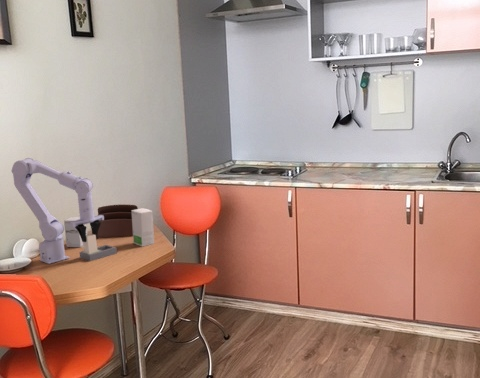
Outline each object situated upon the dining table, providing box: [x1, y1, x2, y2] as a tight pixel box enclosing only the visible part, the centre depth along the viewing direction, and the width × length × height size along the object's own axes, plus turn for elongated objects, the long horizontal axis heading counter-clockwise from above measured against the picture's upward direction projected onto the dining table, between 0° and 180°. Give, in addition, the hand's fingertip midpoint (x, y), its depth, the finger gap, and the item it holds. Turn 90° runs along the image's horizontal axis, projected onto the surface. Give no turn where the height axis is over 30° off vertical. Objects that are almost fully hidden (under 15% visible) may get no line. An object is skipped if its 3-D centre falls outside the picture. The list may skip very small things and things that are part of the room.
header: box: [79, 244, 118, 262], centre depth 229 cm, size 13×8×3 cm, turn 137°
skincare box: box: [131, 207, 155, 247], centre depth 242 cm, size 8×7×16 cm
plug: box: [82, 233, 98, 253], centre depth 225 cm, size 4×4×7 cm
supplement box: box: [63, 216, 88, 248], centre depth 246 cm, size 7×7×13 cm
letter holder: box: [96, 203, 139, 239], centre depth 262 cm, size 10×20×14 cm, turn 91°
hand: (89, 240), depth 225 cm, fingers open, 4 cm apart
